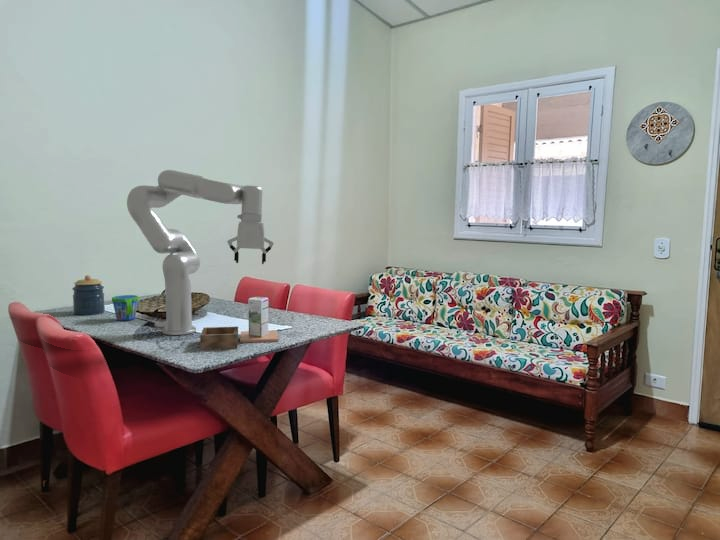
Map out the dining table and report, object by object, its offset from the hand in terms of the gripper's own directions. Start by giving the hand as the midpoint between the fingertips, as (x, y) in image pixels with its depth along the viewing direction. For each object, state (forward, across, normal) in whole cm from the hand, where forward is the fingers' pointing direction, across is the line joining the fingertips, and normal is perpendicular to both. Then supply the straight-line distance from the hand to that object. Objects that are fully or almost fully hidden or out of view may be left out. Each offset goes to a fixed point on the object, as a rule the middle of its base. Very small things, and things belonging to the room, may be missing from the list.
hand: (250, 263), depth 194 cm
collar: (+28, -9, -12) cm, 33 cm away
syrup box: (+27, +4, -4) cm, 28 cm away
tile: (+28, +4, -4) cm, 29 cm away
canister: (+32, -74, +53) cm, 96 cm away
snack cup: (+31, -54, +35) cm, 71 cm away
